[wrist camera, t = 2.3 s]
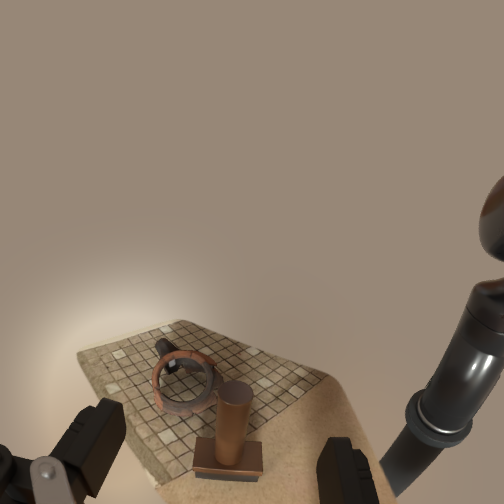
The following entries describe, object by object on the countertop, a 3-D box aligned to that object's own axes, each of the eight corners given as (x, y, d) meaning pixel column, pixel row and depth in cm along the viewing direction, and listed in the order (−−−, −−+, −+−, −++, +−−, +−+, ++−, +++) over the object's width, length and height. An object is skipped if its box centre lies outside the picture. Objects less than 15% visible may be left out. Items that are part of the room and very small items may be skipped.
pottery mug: (242, 394, 38) (238, 377, 32) (191, 438, 34) (175, 431, 28) (185, 338, 44) (172, 311, 38) (138, 376, 40) (115, 356, 33)
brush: (258, 455, 29) (277, 377, 24) (259, 483, 25) (281, 413, 20) (197, 450, 28) (195, 371, 24) (193, 479, 25) (188, 406, 20)
